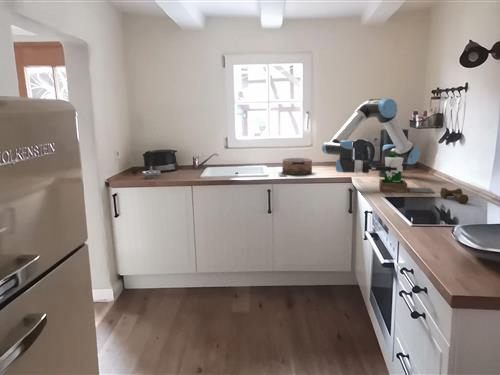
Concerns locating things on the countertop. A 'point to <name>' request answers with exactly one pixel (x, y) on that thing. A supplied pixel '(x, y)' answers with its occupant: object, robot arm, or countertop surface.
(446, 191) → the kendama
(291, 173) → the wicker basket
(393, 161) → the soya milk
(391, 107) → the robot arm
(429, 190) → the rubber mat
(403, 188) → the collar
